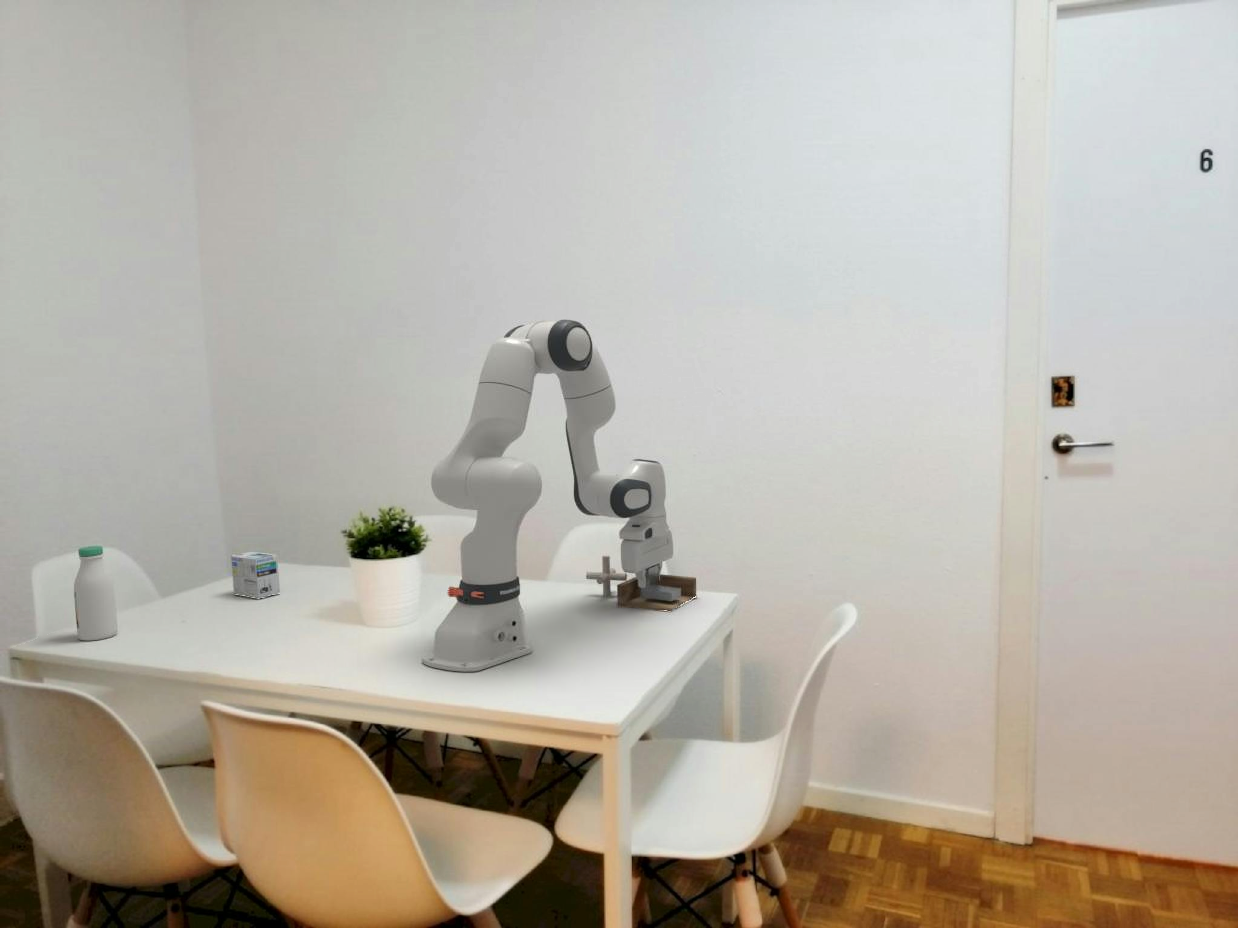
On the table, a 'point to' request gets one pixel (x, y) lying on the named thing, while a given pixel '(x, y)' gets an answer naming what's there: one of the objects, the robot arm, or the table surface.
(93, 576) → the milk bottle
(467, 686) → the table surface
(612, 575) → the pipe connector
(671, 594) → the bracket
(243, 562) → the light bulb box
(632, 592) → the wooden corner tray
